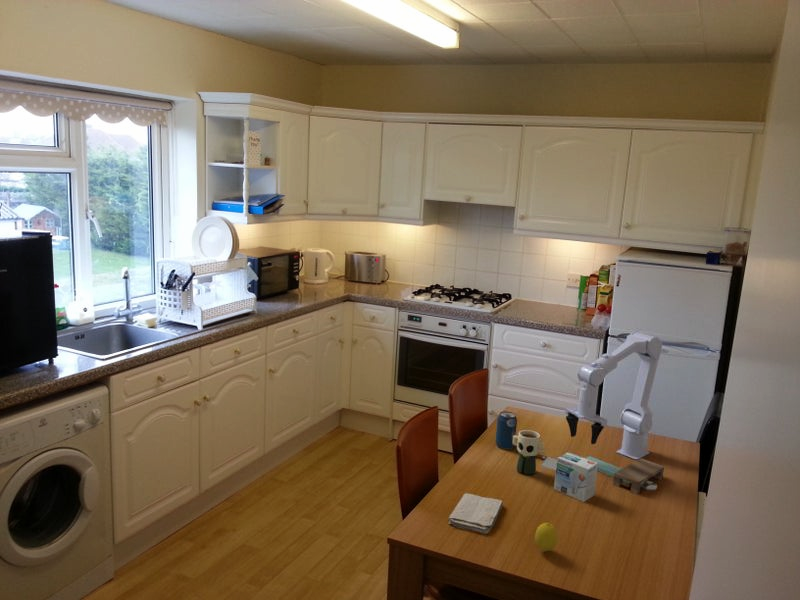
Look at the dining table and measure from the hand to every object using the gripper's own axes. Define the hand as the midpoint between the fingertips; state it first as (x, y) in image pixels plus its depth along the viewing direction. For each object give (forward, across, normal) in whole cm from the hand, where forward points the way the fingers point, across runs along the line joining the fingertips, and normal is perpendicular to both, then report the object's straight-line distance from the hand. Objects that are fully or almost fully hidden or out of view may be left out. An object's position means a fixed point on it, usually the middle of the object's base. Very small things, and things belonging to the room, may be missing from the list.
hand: (583, 439), depth 221 cm
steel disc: (+9, +22, +3) cm, 25 cm away
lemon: (+9, +22, -55) cm, 60 cm away
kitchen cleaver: (+10, -7, -7) cm, 14 cm away
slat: (+10, +8, +4) cm, 13 cm away
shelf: (+9, +18, +4) cm, 21 cm away
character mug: (+9, -9, -19) cm, 23 cm away
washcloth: (+10, -1, -54) cm, 55 cm away
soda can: (+9, -26, -8) cm, 28 cm away
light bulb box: (+9, +9, -20) cm, 24 cm away
